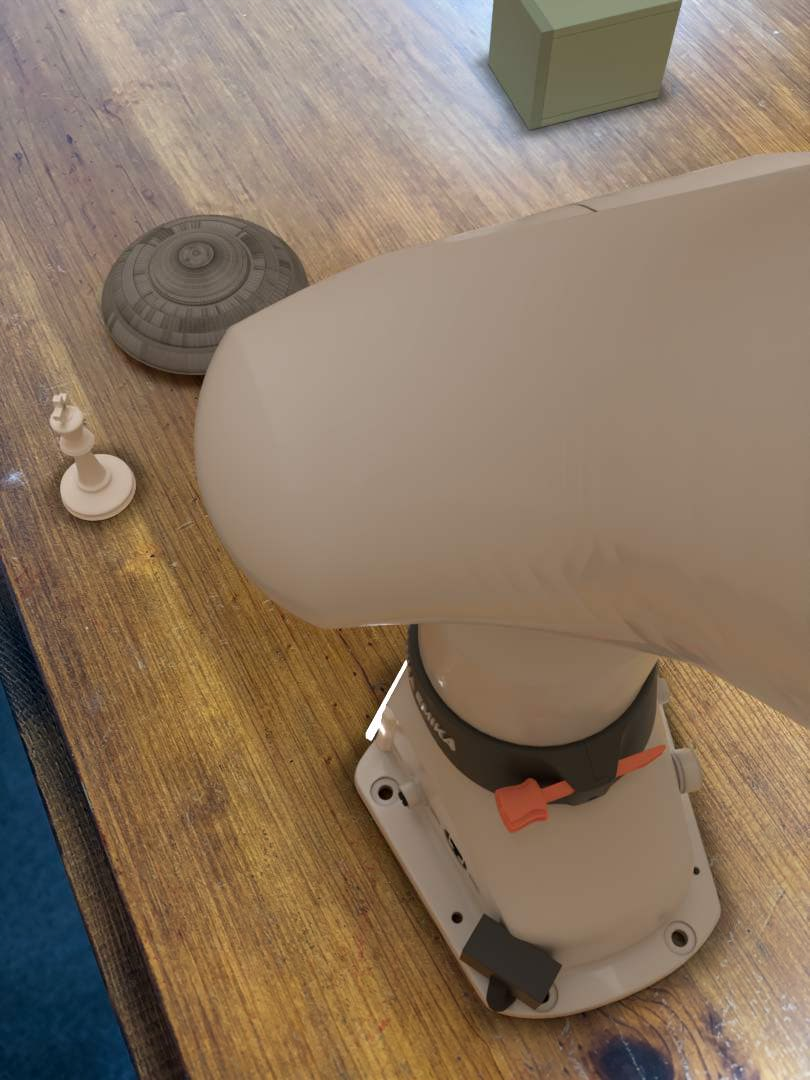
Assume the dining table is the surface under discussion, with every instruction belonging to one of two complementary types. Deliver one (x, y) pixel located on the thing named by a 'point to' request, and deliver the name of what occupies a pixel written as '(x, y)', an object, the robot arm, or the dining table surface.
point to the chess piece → (89, 469)
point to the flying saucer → (194, 288)
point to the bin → (579, 54)
